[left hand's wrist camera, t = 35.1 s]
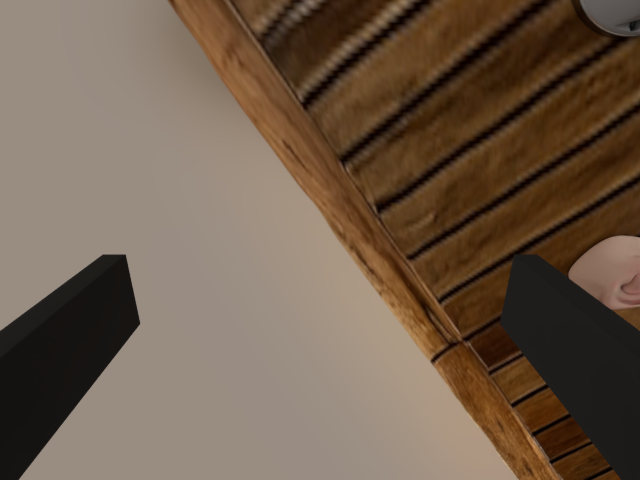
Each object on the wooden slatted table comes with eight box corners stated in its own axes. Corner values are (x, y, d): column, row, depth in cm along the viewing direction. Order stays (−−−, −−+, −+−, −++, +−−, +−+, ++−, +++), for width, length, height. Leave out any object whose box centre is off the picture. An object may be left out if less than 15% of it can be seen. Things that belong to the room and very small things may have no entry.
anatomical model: (572, 301, 51) (627, 229, 47) (555, 287, 55) (605, 219, 51) (649, 332, 53) (709, 264, 49) (628, 316, 57) (681, 252, 53)
